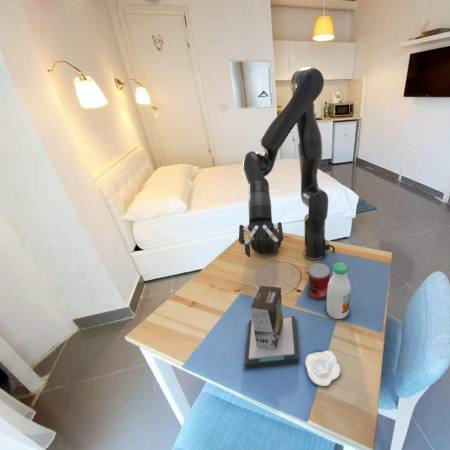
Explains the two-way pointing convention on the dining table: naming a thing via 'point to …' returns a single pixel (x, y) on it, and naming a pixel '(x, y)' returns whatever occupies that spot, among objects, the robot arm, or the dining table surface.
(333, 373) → the rose
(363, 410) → the dining table surface
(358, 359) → the dining table surface
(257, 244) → the squash
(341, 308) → the milk bottle
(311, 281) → the canned food
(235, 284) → the dining table surface
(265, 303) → the coffee box
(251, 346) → the scale
